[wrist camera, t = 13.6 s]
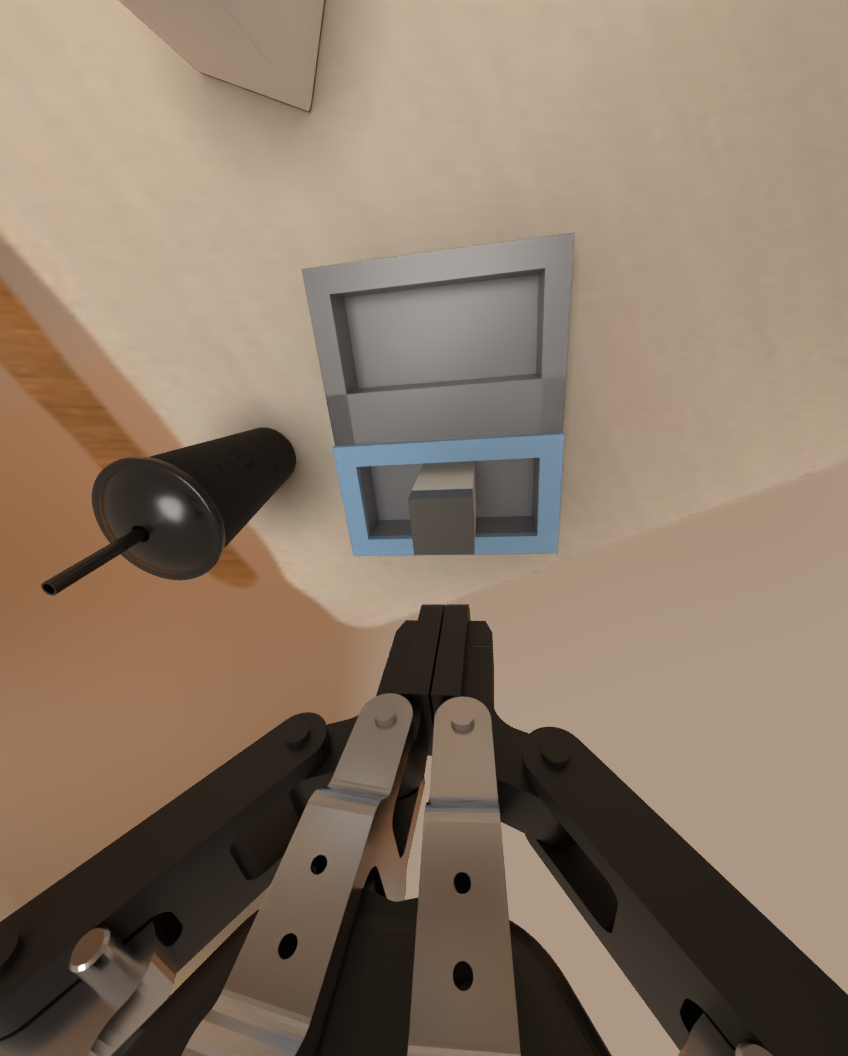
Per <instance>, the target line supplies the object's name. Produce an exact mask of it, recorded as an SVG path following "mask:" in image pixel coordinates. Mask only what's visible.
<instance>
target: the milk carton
mask: <svg viewBox="0 0 848 1056" xmlns="http://www.w3.org/2000/svg"><path fill="white" fill-rule="evenodd" d="M119 1H120V2H121V3H122V4H123V5H124V6H125V7H127V8H128V9H129V10H130V11H131V12H132V13H133V14H134V15H135V16H137V17H138V18H139V19H140V20H141V21H142V22H143V23H144V24H146V25H147V26H148V27H149V28H150V29H151V30H152V31H153V32H155V33H156V34H157V35H158V36H159V37H160V38H161V39H162V40H163V41H165V42H166V43H167V44H168V45H169V46H170V47H171V48H172V49H174V50H175V51H176V52H177V53H178V54H179V55H180V56H181V57H183V58H184V59H185V60H186V61H187V62H188V63H189V64H190V65H192V66H193V67H194V68H195V69H196V70H198V71H199V72H202V73H204V74H207V75H210V76H212V77H215V78H218V79H221V80H224V81H226V82H229V83H232V84H235V85H237V86H240V87H243V88H246V89H248V90H251V91H254V92H257V93H259V94H262V95H265V96H268V97H270V98H273V99H276V100H279V101H281V102H284V103H287V104H290V105H292V106H295V107H298V108H301V109H303V110H306V111H309V110H310V107H311V100H312V93H313V85H314V77H315V69H316V61H317V53H318V45H319V38H320V30H321V22H322V14H323V6H324V0H119Z"/></svg>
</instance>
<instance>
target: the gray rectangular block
mask: <svg viewBox="0 0 848 1056" xmlns="http://www.w3.org/2000/svg"><path fill="white" fill-rule="evenodd" d="M408 505H409V514H410V523H411V532H412V541H413V549H414V555H455V554H474V553H475V528H476V481H475V461H463V462H443V463H424V464H423V466H422V468H421V470H420V473H419V475H418V477H417V480H416V482H415V484H414V486H413V489H412V491H411V493H410V496H409V498H408Z"/></svg>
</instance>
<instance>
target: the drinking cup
mask: <svg viewBox="0 0 848 1056" xmlns="http://www.w3.org/2000/svg"><path fill="white" fill-rule="evenodd" d="M295 463H296V459H295V453H294V450H293V448H292V446H291V444H290V443H289V441H288V440H287V439H286V438H285V437H284V436H283V435H282V434H280V433H279V432H277V431H275V430H273V429H269V428H257V429H253V430H249V431H246V432H242V433H238V434H234V435H230V436H227V437H223V438H219V439H215V440H211V441H207V442H204V443H200V444H196V445H192V446H188V447H185V448H181V449H177V450H173V451H169V452H166V453H162V454H158V455H155V456H150V457H128V458H124V459H120V460H118V461H115V462H113V463H111V464H109V465H108V466H106V467H105V468H104V469H103V470H102V471H101V472H100V473H99V475H98V476H97V478H96V480H95V483H94V485H93V490H92V506H93V511H94V514H95V517H96V520H97V522H98V525H99V527H100V528H101V530H102V532H103V534H104V535H105V537H106V538H107V540H108V541H109V542H110V544H109V545H107V546H105V547H104V548H102V549H100V550H98V551H97V552H95V553H93V554H92V555H90V556H88V557H86V558H85V559H83V560H81V561H79V562H78V563H76V564H74V565H73V566H71V567H69V568H67V569H66V570H64V571H62V572H61V573H59V574H57V575H55V576H54V577H52V578H50V579H49V580H47V581H45V582H43V583H42V585H41V587H42V589H43V590H44V592H46V593H47V594H49V595H56V594H57V593H59V592H61V591H62V590H64V589H65V588H67V587H69V586H70V585H72V584H73V583H75V582H77V581H78V580H80V579H81V578H83V577H85V576H86V575H88V574H89V573H91V572H93V571H94V570H96V569H97V568H99V567H101V566H102V565H104V564H105V563H107V562H108V561H110V560H112V559H113V558H115V557H116V556H118V555H120V554H121V555H122V556H123V557H124V558H126V559H127V560H128V561H129V562H131V563H132V564H134V565H135V566H137V567H138V568H140V569H142V570H144V571H146V572H148V573H150V574H152V575H155V576H158V577H161V578H165V579H171V580H187V579H193V578H196V577H199V576H202V575H203V574H205V573H207V572H208V571H209V570H211V569H212V568H213V567H214V566H215V565H216V564H217V562H218V561H219V559H220V557H221V556H222V553H223V550H224V548H225V547H226V546H227V545H228V544H229V543H230V541H231V540H232V539H233V538H234V537H235V536H236V535H237V534H238V533H239V531H240V530H241V529H242V528H243V527H244V526H245V525H246V524H247V523H248V522H249V520H250V519H251V518H252V517H253V516H254V515H255V514H256V513H257V512H258V511H259V509H260V508H261V507H262V506H263V505H264V504H265V503H266V502H267V501H268V500H269V498H270V497H271V496H272V495H273V494H274V493H275V492H276V491H277V490H278V488H279V487H280V486H281V485H282V484H283V483H284V482H285V481H286V480H287V479H288V477H289V476H290V475H291V474H292V472H293V471H294V468H295Z"/></svg>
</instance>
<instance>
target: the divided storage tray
mask: <svg viewBox="0 0 848 1056" xmlns="http://www.w3.org/2000/svg"><path fill="white" fill-rule="evenodd" d="M573 248H574V233H567V234H559V235H552V236H545V237H537V238H530V239H522V240H515V241H507V242H500V243H492V244H485V245H477V246H470V247H463V248H455V249H448V250H440V251H433V252H425V253H418V254H410V255H403V256H395V257H388V258H380V259H373V260H366V261H358V262H351V263H343V264H336V265H328V266H321V267H313V268H306V269H302V274H303V279H304V284H305V290H306V295H307V300H308V305H309V311H310V316H311V321H312V326H313V332H314V337H315V342H316V347H317V353H318V358H319V363H320V368H321V374H322V379H323V384H324V389H325V395H326V400H327V405H328V410H329V416H330V421H331V426H332V431H333V437H334V442H335V446H334V447H333V453H334V458H335V463H336V469H337V474H338V479H339V484H340V489H341V494H342V500H343V505H344V510H345V515H346V520H347V525H348V531H349V536H350V541H351V546H352V551H353V556H406V555H414V549H413V541H412V532H411V523H410V514H409V505H408V498H409V496H410V493H411V491H412V489H413V486H414V484H415V482H416V480H417V477H418V475H419V473H420V470H421V468H422V466H423V464H424V463H443V462H463V461H475V481H476V528H475V553H474V554H455V555H476V554H547V553H557V551H558V534H559V517H560V501H561V484H562V467H563V450H564V433H563V421H564V404H565V386H566V369H567V352H568V335H569V317H570V300H571V283H572V265H573Z"/></svg>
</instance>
